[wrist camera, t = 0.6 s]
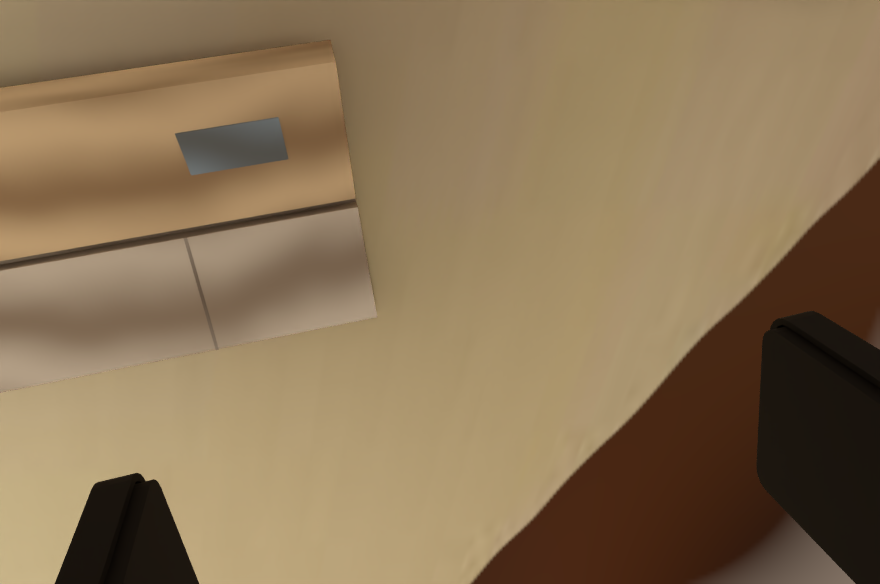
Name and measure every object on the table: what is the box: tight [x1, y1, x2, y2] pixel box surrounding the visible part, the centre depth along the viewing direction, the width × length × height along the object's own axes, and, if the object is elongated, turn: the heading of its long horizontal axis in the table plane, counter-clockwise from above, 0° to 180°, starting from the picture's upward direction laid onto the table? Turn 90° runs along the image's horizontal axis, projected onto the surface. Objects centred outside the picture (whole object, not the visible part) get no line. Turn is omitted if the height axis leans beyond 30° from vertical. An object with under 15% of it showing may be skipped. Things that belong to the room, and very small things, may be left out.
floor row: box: [0, 199, 377, 393], centre depth 36 cm, size 7×24×2 cm, turn 97°
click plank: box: [0, 40, 356, 261], centre depth 31 cm, size 8×24×2 cm
